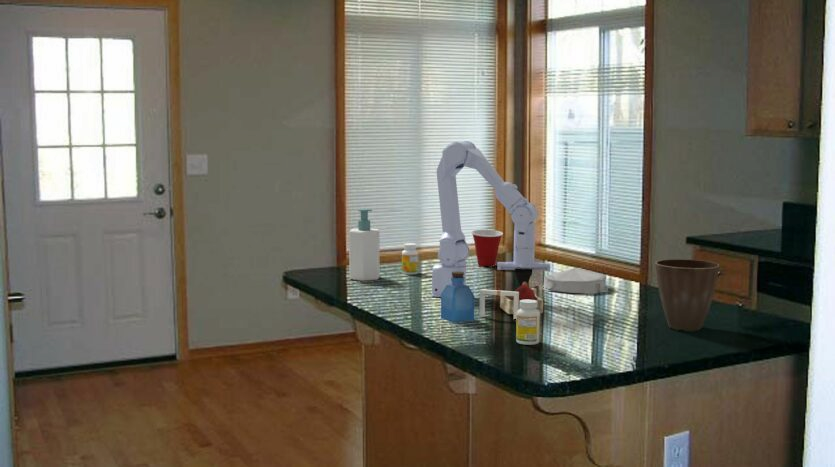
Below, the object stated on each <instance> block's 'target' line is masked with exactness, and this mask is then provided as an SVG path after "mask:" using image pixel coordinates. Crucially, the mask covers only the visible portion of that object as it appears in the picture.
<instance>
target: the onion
mask: <svg viewBox="0 0 835 467" xmlns="http://www.w3.org/2000/svg"><path fill="white" fill-rule="evenodd" d="M531 288H532V287H530V286H528V284H527V283H526V282H523V284H522V285H521V286H520V285H519V287H517V288H515V292H519V300H525V299H529V300H535V294H534V292H533V290H532V289H531ZM513 300H514V296H513Z"/></svg>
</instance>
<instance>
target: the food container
mask: <svg viewBox="0 0 835 467" xmlns="http://www.w3.org/2000/svg"><path fill="white" fill-rule="evenodd" d="M606 279H607V275H606V274H603V273H600V272H596V271H593V270H588V269H583V268H579V267H572V268H569V269H565V270H561V271H558V272H554V273H551V274H546V275H544V278H543V280H544V281H543V285H542V288H543V287H544V288H543V289H542V290H543V291H547V292H559V293H560V292H561V293H571V294H587V295H593V294H594V295H595V294H598V293H607V292H609V286H607V284H606Z"/></svg>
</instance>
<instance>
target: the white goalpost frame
mask: <svg viewBox="0 0 835 467" xmlns="http://www.w3.org/2000/svg"><path fill="white" fill-rule="evenodd" d="M515 291H516V290H515ZM515 291H513V290H512V291H511V290H501V289H498V290H496V289H485V288H483V289H482V288H481V289H480V290H479V318H484V317H485V316H486V306H485V305H486V295H492V296H500V295H503V296H514V314H513V320H514V319H516V317H517V311H518V310H519V292H515Z"/></svg>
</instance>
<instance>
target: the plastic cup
mask: <svg viewBox="0 0 835 467" xmlns="http://www.w3.org/2000/svg"><path fill="white" fill-rule="evenodd" d="M471 234H472V236H473V237H472V238H473V241H474V250H475V254H476V260H477V264H478V265H479V267H481V266H493V265H495V266H496V265H497V264H496V263H497V257H498V252H499V247H500V242H501V239H502V236H503V234H504V233H503V232H502V231H499V230H495V229H475V230H472V231H471Z"/></svg>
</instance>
